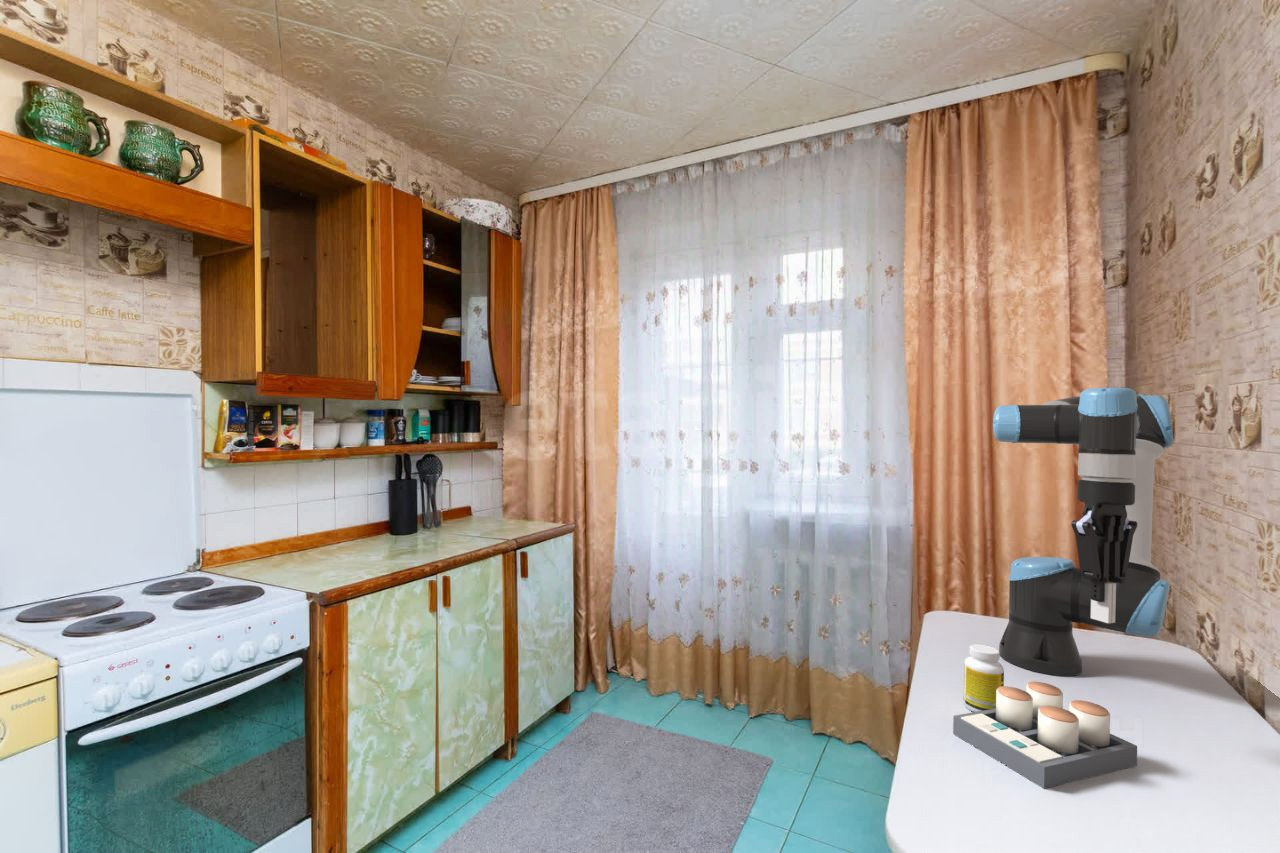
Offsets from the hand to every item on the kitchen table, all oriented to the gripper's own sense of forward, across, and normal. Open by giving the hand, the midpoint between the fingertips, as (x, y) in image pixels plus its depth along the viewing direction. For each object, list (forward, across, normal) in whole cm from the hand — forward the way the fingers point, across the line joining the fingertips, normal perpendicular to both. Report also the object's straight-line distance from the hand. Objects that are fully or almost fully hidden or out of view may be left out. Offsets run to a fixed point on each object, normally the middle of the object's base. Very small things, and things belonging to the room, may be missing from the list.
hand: (1102, 620), depth 94 cm
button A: (+17, +8, -4) cm, 19 cm away
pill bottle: (+20, +11, -13) cm, 26 cm away
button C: (+17, +15, -4) cm, 23 cm away
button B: (+17, +8, +4) cm, 19 cm away
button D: (+17, +15, +3) cm, 23 cm away
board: (+19, +14, 0) cm, 24 cm away
